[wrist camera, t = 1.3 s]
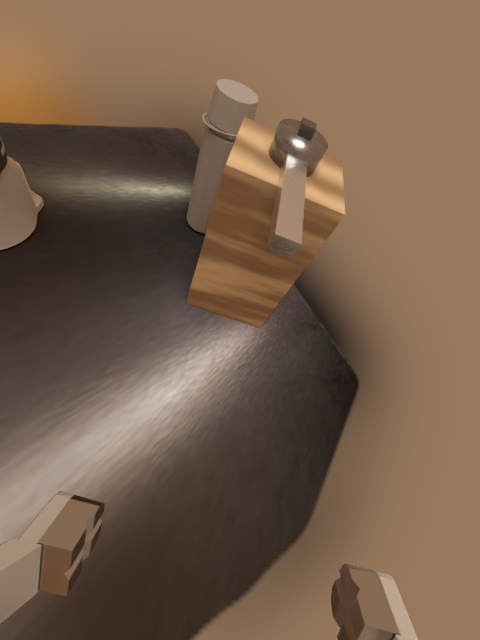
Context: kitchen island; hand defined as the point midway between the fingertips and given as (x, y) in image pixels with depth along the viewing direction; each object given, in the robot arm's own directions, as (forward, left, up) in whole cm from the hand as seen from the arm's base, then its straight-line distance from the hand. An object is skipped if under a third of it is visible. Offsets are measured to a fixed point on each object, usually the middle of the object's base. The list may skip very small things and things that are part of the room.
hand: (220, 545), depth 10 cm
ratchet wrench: (-13, +27, -5) cm, 31 cm away
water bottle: (-33, +41, -31) cm, 61 cm away
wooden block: (-16, +33, -31) cm, 48 cm away
